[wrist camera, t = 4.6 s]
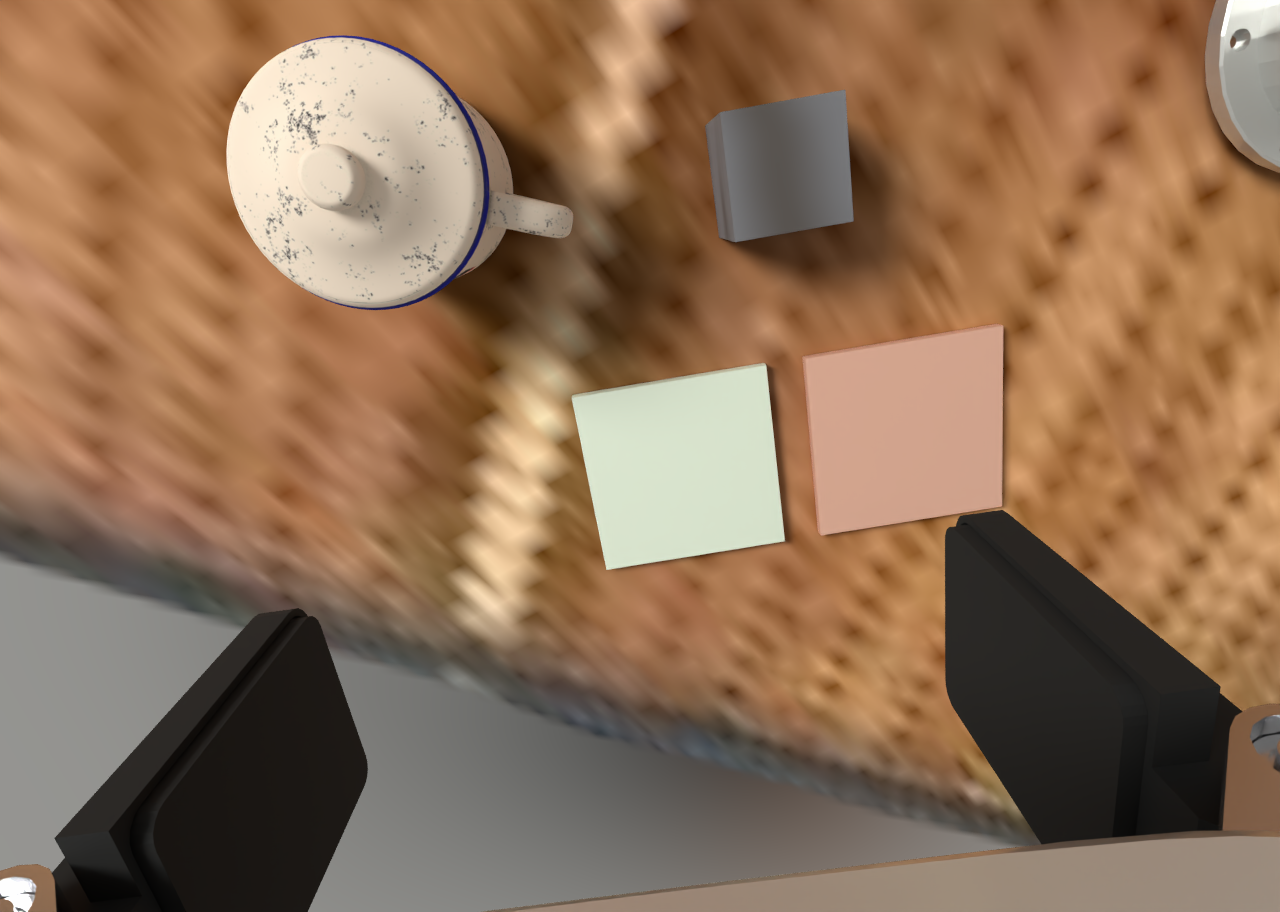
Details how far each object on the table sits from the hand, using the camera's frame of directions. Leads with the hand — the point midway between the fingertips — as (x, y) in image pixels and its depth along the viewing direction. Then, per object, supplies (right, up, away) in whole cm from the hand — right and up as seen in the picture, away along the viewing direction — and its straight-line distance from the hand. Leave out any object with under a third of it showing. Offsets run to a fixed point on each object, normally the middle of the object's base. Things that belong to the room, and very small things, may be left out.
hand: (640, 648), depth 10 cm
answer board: (+8, +3, +28) cm, 29 cm away
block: (+6, +16, +23) cm, 29 cm away
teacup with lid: (-9, +15, +23) cm, 29 cm away
